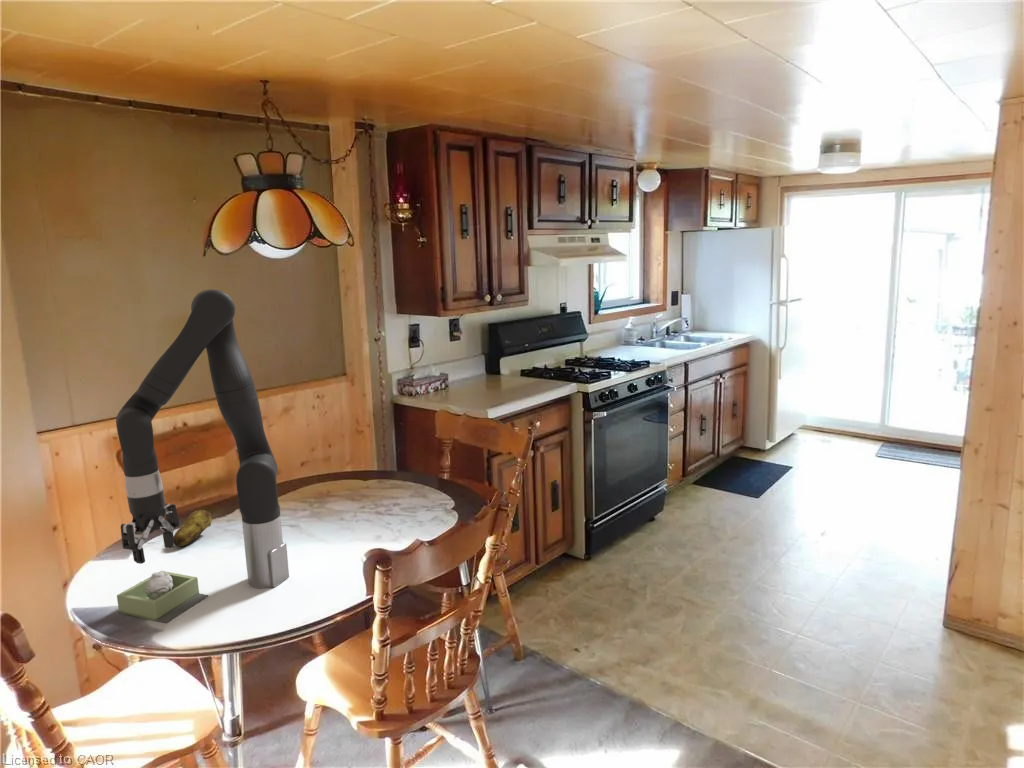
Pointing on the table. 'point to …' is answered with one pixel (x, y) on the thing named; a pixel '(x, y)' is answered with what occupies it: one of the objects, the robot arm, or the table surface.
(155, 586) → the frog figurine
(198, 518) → the potato
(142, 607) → the tray
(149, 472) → the robot arm
